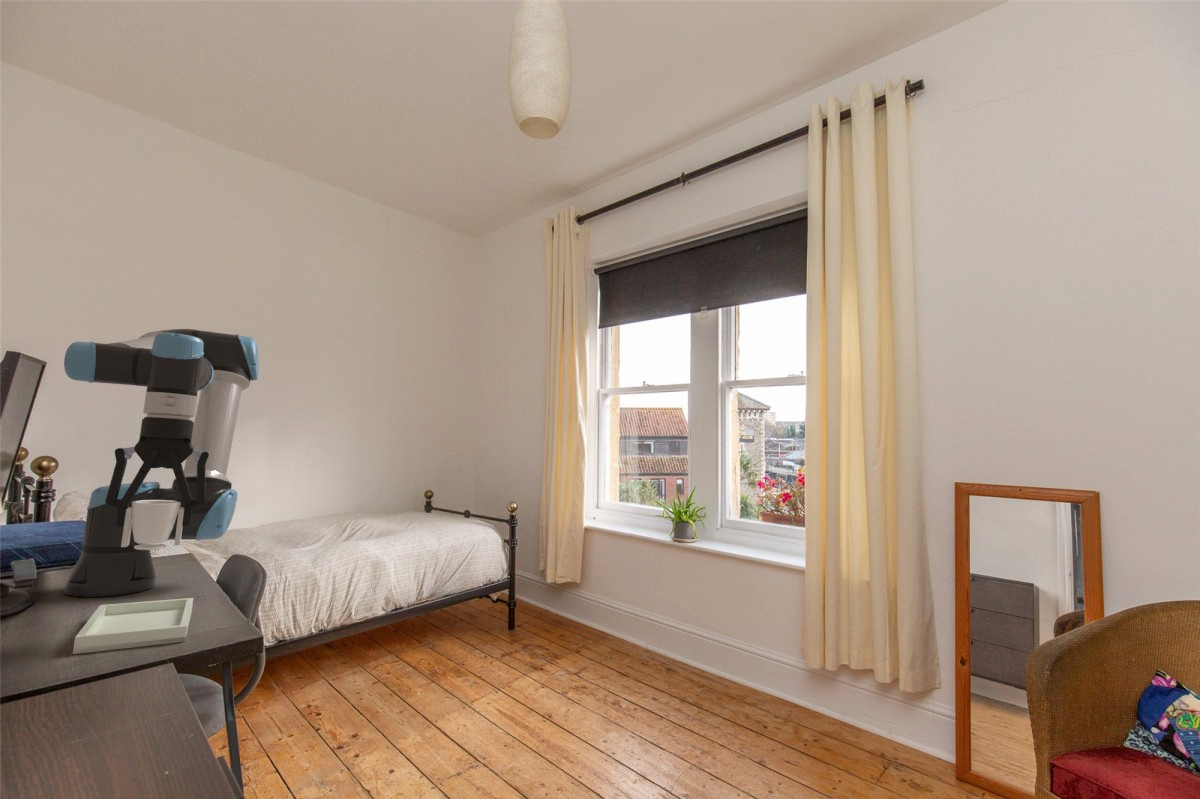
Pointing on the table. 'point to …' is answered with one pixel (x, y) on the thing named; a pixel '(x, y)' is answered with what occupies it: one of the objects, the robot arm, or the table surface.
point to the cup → (153, 522)
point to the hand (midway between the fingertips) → (151, 544)
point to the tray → (135, 625)
